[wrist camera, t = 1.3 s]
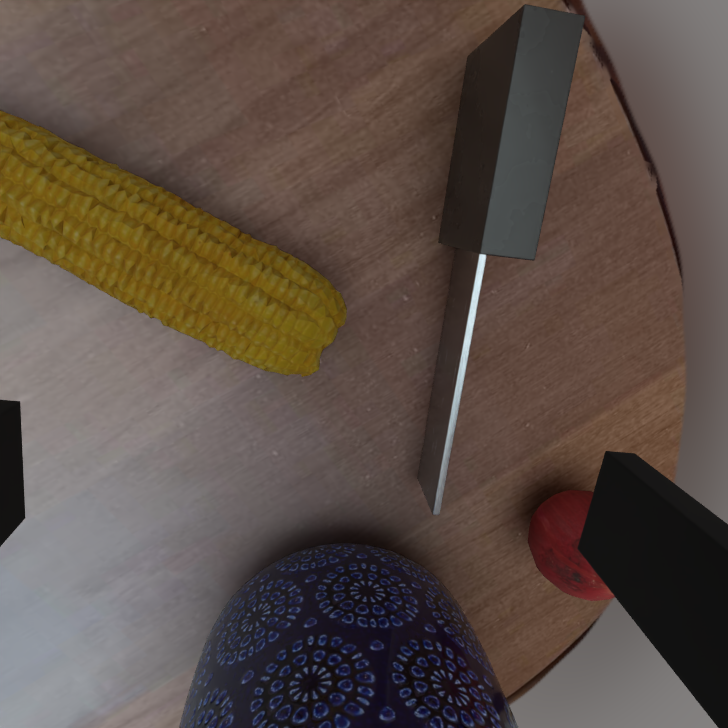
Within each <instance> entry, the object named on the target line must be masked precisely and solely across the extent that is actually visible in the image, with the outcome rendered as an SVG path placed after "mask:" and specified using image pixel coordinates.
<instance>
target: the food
mask: <svg viewBox="0 0 728 728" xmlns="http://www.w3.org/2000/svg"><path fill="white" fill-rule="evenodd" d="M0 237H1V238H3V239H6V240H9V241H11V242H12V243H13V244H16V245H19V246H22V247H24V248H25V249H26V250H29V251H31V252H33V253H34V254H35V255H37V256H41V257H44V258H46V259H47V260H49V261H50V262H51V263H52V264H56V265H60V267H61V268H63V269H65V270H67V271H69V272H71V273H72V274H74V275H76V276H77V277H79V278H80V279H82V280H84V281H86V282H87V283H88V284H91V285H94V286H95V287H97V288H98V289H99V290H101V291H104V292H106V293H108V294H109V295H110V296H112V297H114V298H116V299H118V300H119V301H121V302H123V303H125V304H127V305H129V306H131V307H133V308H135V309H137V311H138V312H139V313H143V312H144V313H146V314H147V315H148V316H149V317H150V318H157V319H159V320H161V322H162V324H163V325H164V326H169V327H171V328H173V329H175V330H177V331H179V332H182V333H184V334H187V335H189V336H191V337H193V338H195V339H198V340H200V341H202V342H205V343H206V344H207V345H208V346H209V347H212V348H216V350H217V351H219V350H223V351H224V352H225V353H226V354H228V355H229V356H231V357H232V358H233V359H239V360H241V361H244V362H246V363H248V364H251V365H252V366H255V367H258V368H260V369H262V370H265V371H270V372H277V373H280V374H284V375H289V374H301V375H302V377H303V376H307V375H311V374H312V373H314V372H316V371H318V370H319V364H320V360H319V358H320V355H321V353H322V351H323V349H324V348H325V347H327V346H328V345H329V344H331V343H332V342H334V340H335V337H336V335H337V332H338V328H339V327H341V326H342V325H344V324H345V320H346V317H347V316H346V312H347V308H346V306H345V303H344V300H343V298H342V295H341V293H339V292H338V291H336V289H335V288H334V287H333V286H332V284H331V283H330V282H329V281H328V280H327V279H326V278H325V277H324V276H323V275H321V274H320V273H319V272H317V271H316V270H315V269H313V268H312V267H310V266H309V265H308V264H306V263H305V262H304V261H300V260H299V259H298V258H297V257H296V258H294V257H293V255H290V254H288V253H286V252H283V251H281V250H279V249H278V247H277V246H274V245H269V244H267V243H265V242H262V241H259V240H256V239H253V238H252V237H251V235H250V234H244V233H242V232H241V231H240V230H239V229H237V228H235V227H232V226H231V225H230V224H228V223H227V222H226V221H220V219H218V218H216V217H213V216H212V215H211V214H209V213H207V212H204V211H203V210H202V209H201V208H195V207H193V206H192V205H191V204H189V203H188V202H186V201H185V200H183V199H182V198H180V197H178V196H176V195H175V194H173V193H171V192H167V191H166V190H165V189H164V188H162V187H159V186H155V185H153V184H151V183H149V182H148V181H147V180H145V179H143V178H141V177H138V176H136V175H134V174H132V173H129V172H128V171H127V170H123V169H119V167H118V166H117V164H110V163H108V162H106V161H104V160H102V159H100V158H98V157H96V156H94V155H92V154H91V153H89V152H88V151H86V150H85V149H83V148H80V147H77V146H75V145H73V144H70V143H68V142H66V141H64V140H63V139H61V138H59V137H58V136H56V135H55V134H53V133H52V132H50V131H48V130H46V129H44V128H42V127H41V126H39V127H38V126H36V125H34V124H31V123H29V122H28V121H26V120H24V119H22V118H19V117H16V116H13V115H11V114H8V113H5V112H3V111H1V110H0Z"/></svg>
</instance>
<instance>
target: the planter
mask: <svg viewBox="0 0 728 728" xmlns="http://www.w3.org/2000/svg"><path fill="white" fill-rule="evenodd" d="M179 728H518V726H517V724H516V721H515V719H514V716H513V714H512V711H511V709H510V707H509V704H508V702H507V700H506V698H505V695H504V693H503V691H502V689H501V686H500V684H499V682H498V680H497V677H496V675H495V673H494V671H493V668H492V666H491V664H490V662H489V659H488V657H487V655H486V653H485V651H484V649H483V647H482V645H481V643H480V641H479V639H478V637H477V636H476V634H475V632H474V630H473V628H472V626H471V625H470V623H469V621H468V619H467V617H466V616H465V614H464V612H463V610H462V609H461V607H460V605H459V604H458V602H457V601H456V600H455V598H454V597H453V596H452V595H451V594H450V592H449V591H448V590H447V589H446V588H445V586H444V585H443V584H442V583H441V582H440V581H439V580H438V579H437V578H436V577H435V576H434V575H433V574H431V573H430V572H429V571H428V570H426V569H425V568H423V567H422V566H420V565H419V564H417V563H415V562H413V561H412V560H410V559H408V558H406V557H404V556H402V555H400V554H398V553H395V552H393V551H390V550H387V549H383V548H380V547H375V546H370V545H363V544H353V543H337V544H327V545H321V546H316V547H312V548H308V549H305V550H302V551H299V552H296V553H293V554H291V555H288V556H286V557H284V558H282V559H280V560H278V561H276V562H274V563H273V564H271V565H269V566H268V567H266V568H265V569H263V570H262V571H260V572H259V573H258V574H257V575H255V576H254V577H253V578H252V579H251V580H249V581H248V582H247V583H246V584H245V585H244V586H243V587H241V588H240V589H239V590H238V591H237V593H236V594H235V595H234V596H233V597H232V598H231V599H230V601H229V602H228V603H227V605H226V606H225V608H224V609H223V611H222V612H221V614H220V616H219V618H218V619H217V621H216V623H215V624H214V626H213V628H212V630H211V632H210V634H209V636H208V638H207V641H206V643H205V646H204V649H203V652H202V654H201V657H200V660H199V662H198V665H197V668H196V671H195V674H194V677H193V680H192V683H191V687H190V690H189V693H188V696H187V699H186V703H185V707H184V711H183V714H182V718H181V722H180V726H179Z"/></svg>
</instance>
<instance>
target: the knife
mask: <svg viewBox="0 0 728 728" xmlns="http://www.w3.org/2000/svg"><path fill="white" fill-rule="evenodd" d="M584 19H585V16H583V15H578V14H573V13H568V12H562V11H557V10H552V9H547V8H542V7H536V6H531V5H526V4H525V5H523V6H522V7H521V8H520V9H519V10H518V11H517V12H516V13H515V14H514V15H512V16H511V17H510V18H509V19H508V20H507V21H506V22H505V23H504V24H503V25H501V26H500V27H499V28H498V29H497V30H496V31H495V32H494V33H493V34H492V35H490V36H489V37H488V38H487V39H486V40H485V41H484V42H483V43H482V44H481V45H480V46H478V47H477V48H476V49H475V50H474V51H473V52H472V53H471V54H470V55H469V56H468V57H467V63H466V70H465V76H464V82H463V89H462V95H461V102H460V108H459V114H458V121H457V127H456V133H455V140H454V146H453V152H452V159H451V165H450V171H449V178H448V184H447V190H446V197H445V203H444V210H443V216H442V222H441V229H440V235H439V241H438V243H441V244H444V245H448V246H452V247H456V250H455V256H454V262H453V268H452V274H451V280H450V286H449V292H448V298H447V304H446V310H445V316H444V322H443V328H442V334H441V340H440V346H439V352H438V358H437V364H436V370H435V376H434V382H433V388H432V394H431V400H430V406H429V412H428V418H427V424H426V430H425V436H424V442H423V448H422V454H421V460H420V466H419V472H418V478H417V479H418V481H419V484H420V486H421V488H422V491H423V493H424V495H425V498H426V500H427V503H428V505H429V507H430V510H431V512H432V514H433V515H439V514H440V509H441V504H442V498H443V493H444V487H445V482H446V476H447V471H448V465H449V460H450V454H451V449H452V443H453V438H454V433H455V427H456V422H457V416H458V411H459V405H460V400H461V394H462V389H463V383H464V378H465V372H466V367H467V361H468V356H469V351H470V345H471V340H472V334H473V329H474V323H475V318H476V312H477V307H478V301H479V296H480V290H481V285H482V279H483V274H484V268H485V263H486V258H487V255H492V256H500V257H508V258H517V259H525V260H535V255H536V251H537V246H538V241H539V236H540V231H541V226H542V222H543V217H544V212H545V207H546V202H547V198H548V193H549V188H550V183H551V178H552V173H553V169H554V164H555V159H556V154H557V149H558V144H559V140H560V135H561V130H562V125H563V120H564V116H565V111H566V106H567V101H568V96H569V91H570V87H571V82H572V77H573V72H574V67H575V63H576V58H577V53H578V48H579V43H580V38H581V34H582V29H583V24H584Z"/></svg>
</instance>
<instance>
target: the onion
mask: <svg viewBox="0 0 728 728" xmlns="http://www.w3.org/2000/svg"><path fill="white" fill-rule="evenodd" d="M593 493H594V492H592V491H579V490H567V491H564V492H561V493H557V494H554V495H553V496H552V497H550V498H549V499H547V500H546V501H544V502H543V503H542V504H541V505H540V506H539V507H538V509H537V510H536V512H535V513H534V514H533V516H532V517H531V522H530V527H529V533H528V544H529V547H530V550H531V552H532V555H533V558H534V561H535V564H536V566H537V568H538V569H539V571H540V572H541V573H542V574H543V576H544V577H546V578H547V579H548V580H549V581H550V582H552V583H553V584H554V585H555V586H556V587H558V588H559V589H560V590H562V591H563V592H565V593H567V594H569V595H572V596H575V597H578V598H582V599H585V600H590V601H598V600H607V599H611V598H614V597H615V596H614V595H613V593H612V592H611V591H610V590H609V588H608V587H607V586H606V585H605V583H604V582H603V581H602V579H601V578H600V577H599V576H598V574H597V573H596V572H595V571H594V569H593V568H592V567H591V565H590V564H589V563H588V562H587V560H586V559H585V558H584V557H583V555H582V554H581V553H580V552H579V550H578V549H577V548H578V544H579V541H580V538H581V534H582V531H583V527H584V524H585V520H586V517H587V514H588V510H589V507H590V503H591V500H592V496H593Z"/></svg>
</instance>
